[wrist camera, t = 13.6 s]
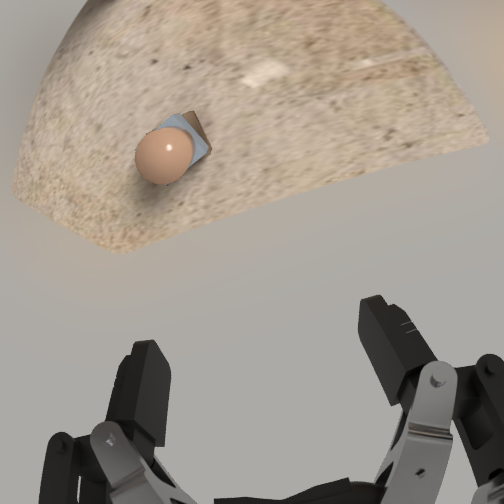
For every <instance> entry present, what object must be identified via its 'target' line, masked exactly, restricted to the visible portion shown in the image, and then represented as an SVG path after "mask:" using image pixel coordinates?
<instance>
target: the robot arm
mask: <svg viewBox="0 0 504 504" xmlns="http://www.w3.org/2000/svg"><path fill="white" fill-rule="evenodd" d="M358 333H359V337H360V341H361V343H362V345H363V347H364V349H365V351H366V353H367V355H368V357H369V359H370V361H371V363H372V366H373V368H374V370H375V372H376V374H377V376H378V378H379V381H380V383H381V385H382V387H383V389H384V391H385V393H386V396H387V398H388V400H389V403H390V405H391V406H393V405H396V404H399V403H400V404H401V406H402V409H403V410H402V412H401V416H400V419H399V422H398V425H397V428H396V431H395V434H394V437H393V440H392V442H391V445H390V448H389V450H388V453H387V455H386V457H385V459H384V461H383V463H382V465H381V467H380V469H379V471H378V473H377V476H376V478H375V480H374V482H373V483H369V482H358V481H356V482H355V481H354V482H350V481H349V478H348V477H347V478H344V479H340V480H337V481H334V482H329V483H325V484H321V485H317V486H314V487H312V488H310V489H308V490H305V491H303V492H301V493H298V494H296V495H294V496H291V497H289V498H286V499H283V500H272V499H260V498H252V497H238V498H220V499H214V504H434V503H435V500H436V498H437V495H438V492H439V489H440V486H441V483H442V480H443V477H444V474H445V471H446V467H447V464H448V460H449V456H450V452H451V448H452V443H453V436H452V434H450V425H451V420H453V421H454V423H455V426H456V428H457V430H458V433H459V435H460V438H461V440H462V443H463V445H464V448H465V451H466V453H467V456H468V459H469V462H470V464H471V467H472V470H473V473H474V476H475V479H476V483H477V485H478V489H477V490H476V492H475V494H474V496H473V499H472V502H471V504H504V361H503V360H502V359H501V358H500V357H498V356H497V355H494V354H486V355H483V356H482V357H480V358H479V360H478V361H477V363H476V365H472V366H466V367H459V368H453V367H452V366H451V365H450V364H448V363H446V362H443V361H438V360H437V358H436V357H435V356H434V354H433V352H432V351H431V349H430V348H429V346H428V344H427V343H426V342H425V340H424V338H423V337H422V336H421V334H420V332H419V331H418V330H417V328H416V327H415V325H414V324H413V323H412V322H411V320H410V318H409V317H408V315H407V314H406V312H405V311H404V310H402V309H401V308H399V307H398V306H397V305H395V304H392V305H389V306H388V305H387V303H386V302H385V300H384V299H383V297H382V296H381V295H375V296H372V297H368V298H365V299H362V300H361V301H360V310H359V322H358ZM116 377H117V378H116V379H115V382H114V387H113V390H112V394H111V398H110V402H109V407H108V411H107V415H106V419H105V421H104V422H102V423H100V424H98V425H97V426H96V427H95V428H94V429H93V431H92V433H91V434H90V435H86V436H81V437H77V438H72V437H71V436H70V435H68V434H67V433H65V432H58V433H56V434H55V435H53V436H52V437H51V439H50V440H49V442H48V446H47V451H46V456H45V461H44V467H43V473H42V480H41V486H40V494H39V504H197V503H196V502H195V501H194V500H193V499H192V498H191V497H190V496H189V495H188V494H186V493H185V492H184V491H183V490H182V489H181V488H180V487H179V486H178V484H177V483H176V482H175V481H174V479H173V478H172V477H171V476H170V474H169V473H168V472H167V470H166V469H165V468H164V466H163V465H162V464H161V462H160V461H159V460H158V459H157V457H156V456H155V454H154V448H155V447H164V446H165V434H166V421H167V411H168V400H169V392H170V383H171V370H170V366H169V363H168V362H167V360H166V358H165V357H164V355H163V353H162V352H161V351H160V348H159V347H158V345H157V343H156V342H155V341H154V340H145V341H137V342H135V343H134V344H133V348H132V352H131V355H126V356H125V358H124V359H123V361H122V362H121V364H120V365H119V368H118V371H117V375H116ZM79 476H81V484H80V495H79V503H78V501H77V490H78V480H79Z"/></svg>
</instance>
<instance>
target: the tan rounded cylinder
mask: <svg viewBox="0 0 504 504" xmlns="http://www.w3.org/2000/svg"><path fill="white" fill-rule="evenodd" d="M195 148H196V147H195V142H194V139H193V137H192V136H191V134H190V133H189V132H188V131H187V130H185V129H184V128H181V127H178V126H167V127H164V128H161V129H158V130H155V131H153V132H150V133H149V134H147V135H146V136H144V137H143V138H142V140H141V141H140V142H139V144H138V146H137V148H136V152H135V163H136V166H137V169H138V171H139V172H140V174H141V175H142V176H143V177H144V178H145V179H146V180H148V181H150V182H152V183H155V184H169V183H172V182H174V181H176V180H178V179H179V178H180V177H181V176H182V175H183V174H184V173H185V171H186V169H187V168H188V166H189V165H190V163H191V161H192V160H193V158H194V155H195Z"/></svg>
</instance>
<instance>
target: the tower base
mask: <svg viewBox="0 0 504 504" xmlns="http://www.w3.org/2000/svg"><path fill="white" fill-rule="evenodd" d="M182 116H183V117H184V118H185V120H186V121H187V122H188V123H189V124H190V125H191V127H192V128H193V129H194V130H195V131H196V132H197V133H198V135H199V136H200V137H201V138H202V139H203V140H204V142H205V143H206V144H207V145H208V146H209V147H208V150H207V152H206V154H204V155H203V156H202V157H201V158H203V157H206V156H208V155H210V154H211V150H212V147H211V145H210V143H209V141H208V139H207V137H206V135H205V133H204V131H203V128H202V126H201V124H200V122H199V120H198V118H197V116H196V114H195V112H194V111H189V112H187V113H185V114H183V115H182ZM156 129H157V128H156ZM156 129H154V130H152V131H151V132H153V131H155V130H156ZM149 133H150V132H149ZM149 133H147V134H149ZM147 134H146V135H147ZM201 158H200V159H201ZM198 160H199V159H198Z"/></svg>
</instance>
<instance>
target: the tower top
mask: <svg viewBox="0 0 504 504" xmlns="http://www.w3.org/2000/svg"><path fill="white" fill-rule="evenodd" d="M167 126H178V127H181V128H184V129H185V130H187V131H188V132H189V133H190V134H191V136H192V137H193V139H194V142H195V147H196V148H195V155H194V158H193V160H192V161H191V163H190V165H189V166H188V168H189V167H190V166H191V165H192V164H194V163H195V162H196V161H197V160H198V159H200V158H201V157H202V156H203V155H204V154H206V152H207V150H208V147H209V146H208V145H207V144H206V143H205V142H204V140H203V139H202V138H201V137H200V136H199V135H198V133H197V132H196V131H195V130H194V129H193V128H192V127H191V125H190V124H189V123H188V122H187V121H186V120H185V118H184V117H183V116H182V115H181V114H173V115H172V116H170V117H169V118H168V119H167V120H166V121H165V122H164V123H162V124H161V125H160V126H159V127H158V128H157V129H156V130H158V129H161V128H164V127H167ZM135 151H136V149H135ZM188 168H187V169H188ZM169 184H170V183H169ZM169 184H166V185H167V186H168V185H169Z"/></svg>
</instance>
